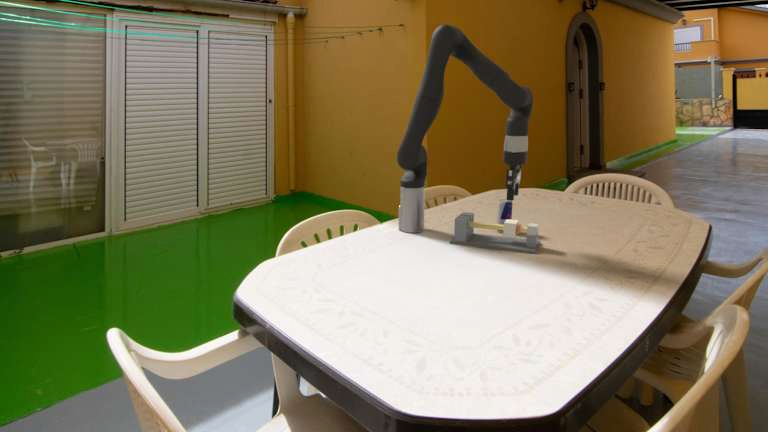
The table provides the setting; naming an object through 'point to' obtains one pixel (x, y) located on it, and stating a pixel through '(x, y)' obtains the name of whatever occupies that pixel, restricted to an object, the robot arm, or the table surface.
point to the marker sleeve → (510, 228)
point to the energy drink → (504, 212)
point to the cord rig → (467, 225)
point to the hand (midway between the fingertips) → (512, 197)
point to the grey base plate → (498, 243)
